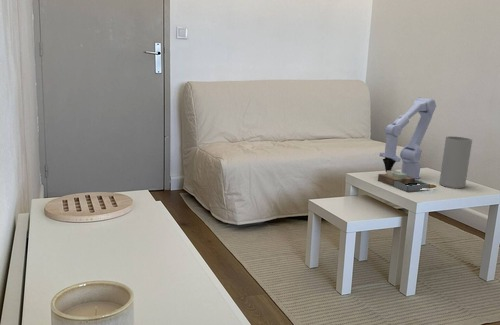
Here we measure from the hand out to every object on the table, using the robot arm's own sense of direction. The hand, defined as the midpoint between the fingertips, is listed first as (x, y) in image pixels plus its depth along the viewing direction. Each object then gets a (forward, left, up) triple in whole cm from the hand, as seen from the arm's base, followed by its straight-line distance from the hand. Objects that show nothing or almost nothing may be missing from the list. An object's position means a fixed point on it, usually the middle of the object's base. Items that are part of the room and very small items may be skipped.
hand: (388, 172), depth 254 cm
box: (0, +18, -4) cm, 19 cm away
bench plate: (0, +7, -4) cm, 8 cm away
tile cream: (0, +4, 0) cm, 4 cm away
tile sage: (0, +9, 0) cm, 9 cm away
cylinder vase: (-27, +19, -4) cm, 33 cm away
